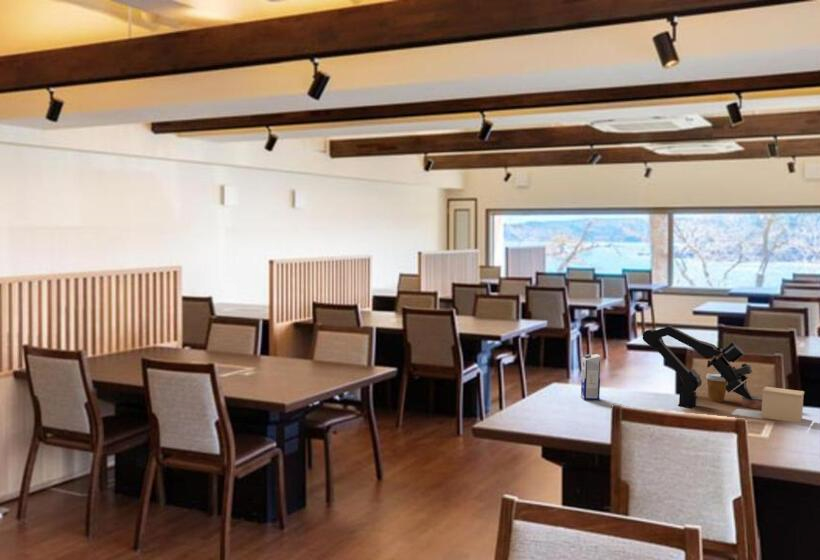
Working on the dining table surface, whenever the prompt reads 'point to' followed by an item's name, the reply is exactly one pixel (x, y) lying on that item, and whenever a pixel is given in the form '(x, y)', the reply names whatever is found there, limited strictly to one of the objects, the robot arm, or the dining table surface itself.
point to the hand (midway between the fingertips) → (751, 399)
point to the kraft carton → (782, 404)
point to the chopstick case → (752, 402)
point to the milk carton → (590, 377)
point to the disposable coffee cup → (716, 387)
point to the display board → (747, 413)
